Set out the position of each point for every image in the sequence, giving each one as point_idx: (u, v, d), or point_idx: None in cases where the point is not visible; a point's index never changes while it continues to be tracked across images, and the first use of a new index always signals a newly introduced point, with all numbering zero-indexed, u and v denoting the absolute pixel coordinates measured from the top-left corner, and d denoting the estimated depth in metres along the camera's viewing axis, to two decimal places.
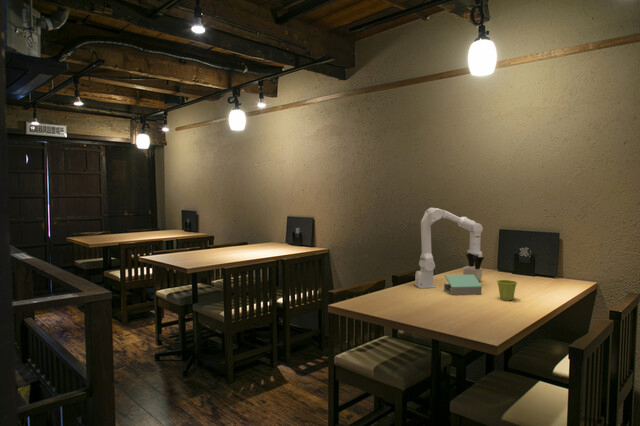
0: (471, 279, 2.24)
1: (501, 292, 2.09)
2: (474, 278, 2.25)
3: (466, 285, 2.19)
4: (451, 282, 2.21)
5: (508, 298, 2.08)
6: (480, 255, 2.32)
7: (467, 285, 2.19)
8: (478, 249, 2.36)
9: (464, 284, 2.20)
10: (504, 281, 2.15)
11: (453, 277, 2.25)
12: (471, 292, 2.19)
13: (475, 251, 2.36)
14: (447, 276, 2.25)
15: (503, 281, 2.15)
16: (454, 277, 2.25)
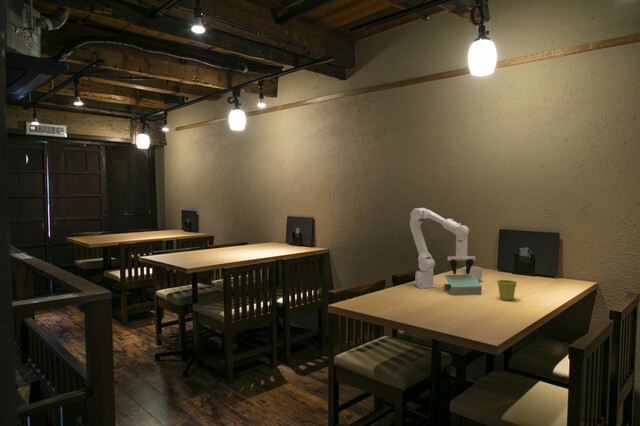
0: (471, 279, 2.24)
1: (501, 292, 2.09)
2: (474, 278, 2.25)
3: (466, 285, 2.19)
4: (451, 282, 2.21)
5: (508, 298, 2.08)
6: (448, 258, 2.24)
7: (467, 285, 2.19)
8: (457, 254, 2.24)
9: (464, 284, 2.20)
10: (504, 281, 2.15)
11: (453, 277, 2.25)
12: (471, 292, 2.19)
13: None
14: (447, 276, 2.25)
15: (503, 281, 2.15)
16: (454, 277, 2.25)
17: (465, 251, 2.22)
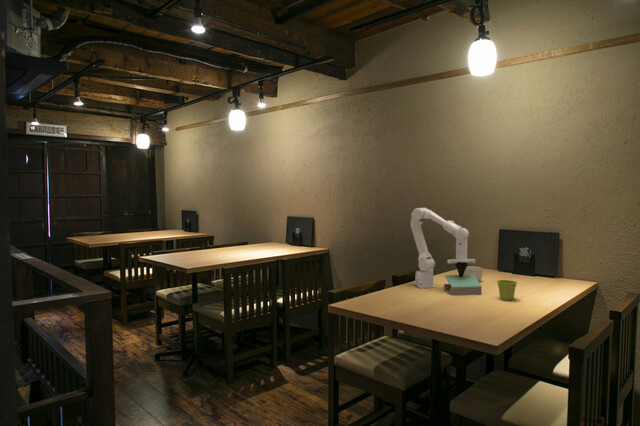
0: (471, 279, 2.24)
1: (501, 292, 2.09)
2: (474, 278, 2.25)
3: (466, 285, 2.19)
4: (451, 282, 2.21)
5: (508, 298, 2.08)
6: (448, 261, 2.24)
7: (467, 285, 2.19)
8: (457, 256, 2.24)
9: (464, 284, 2.20)
10: (504, 281, 2.15)
11: (453, 277, 2.25)
12: (471, 292, 2.19)
13: None
14: (447, 276, 2.25)
15: (503, 281, 2.15)
16: (454, 277, 2.25)
17: (465, 254, 2.22)
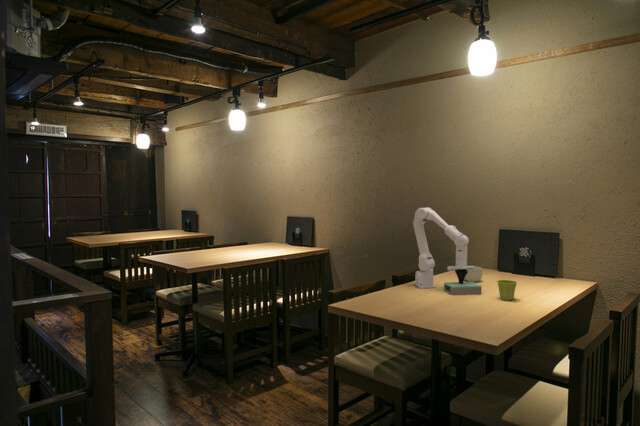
0: (470, 283, 2.25)
1: (501, 292, 2.09)
2: (473, 283, 2.26)
3: (466, 285, 2.20)
4: (450, 285, 2.22)
5: (508, 298, 2.08)
6: (448, 268, 2.25)
7: (467, 285, 2.20)
8: (457, 263, 2.24)
9: (463, 285, 2.20)
10: (504, 281, 2.15)
11: (452, 283, 2.26)
12: (471, 292, 2.19)
13: None
14: (446, 282, 2.27)
15: (503, 281, 2.15)
16: (453, 283, 2.27)
17: (465, 261, 2.22)
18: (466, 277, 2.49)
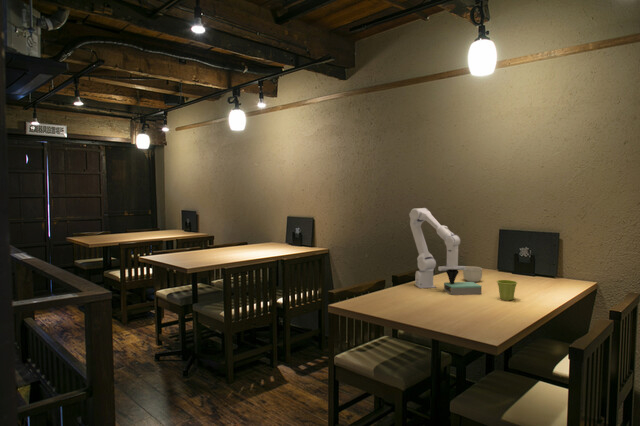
0: (470, 283, 2.25)
1: (501, 292, 2.09)
2: (473, 283, 2.26)
3: (466, 285, 2.20)
4: (450, 285, 2.22)
5: (508, 298, 2.08)
6: (438, 268, 2.24)
7: (467, 285, 2.20)
8: (448, 263, 2.23)
9: (463, 285, 2.20)
10: (504, 281, 2.15)
11: None
12: (471, 292, 2.19)
13: None
14: (446, 282, 2.27)
15: (503, 281, 2.15)
16: None
17: (456, 261, 2.22)
18: (466, 277, 2.49)
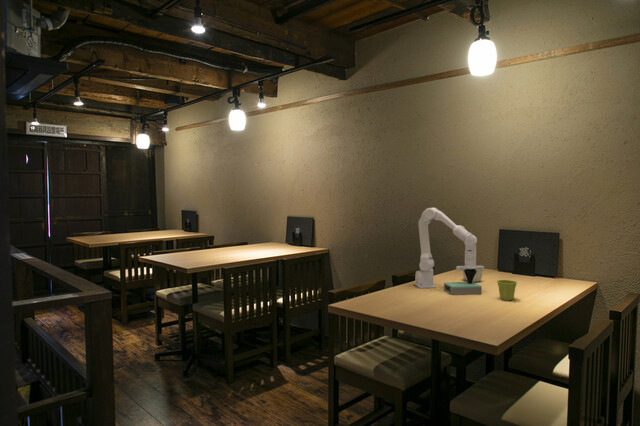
0: None
1: (501, 292, 2.09)
2: (473, 283, 2.26)
3: (466, 285, 2.20)
4: (450, 285, 2.22)
5: (508, 298, 2.08)
6: (457, 268, 2.25)
7: (467, 285, 2.20)
8: (466, 263, 2.24)
9: (463, 285, 2.20)
10: (504, 281, 2.15)
11: (452, 283, 2.26)
12: (471, 292, 2.19)
13: (464, 265, 2.26)
14: (446, 282, 2.27)
15: (503, 281, 2.15)
16: (453, 283, 2.27)
17: (474, 261, 2.23)
18: (466, 277, 2.49)
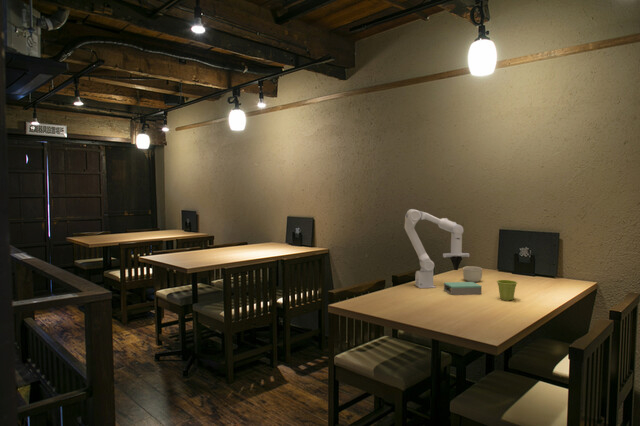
0: (470, 283, 2.25)
1: (501, 292, 2.09)
2: (473, 283, 2.26)
3: (466, 285, 2.20)
4: (450, 285, 2.22)
5: (508, 298, 2.08)
6: (443, 255, 2.35)
7: (467, 285, 2.20)
8: (452, 250, 2.35)
9: (463, 285, 2.20)
10: (504, 281, 2.15)
11: (452, 283, 2.26)
12: (471, 292, 2.19)
13: None
14: (446, 282, 2.27)
15: (503, 281, 2.15)
16: (453, 283, 2.27)
17: (460, 248, 2.33)
18: (466, 277, 2.49)
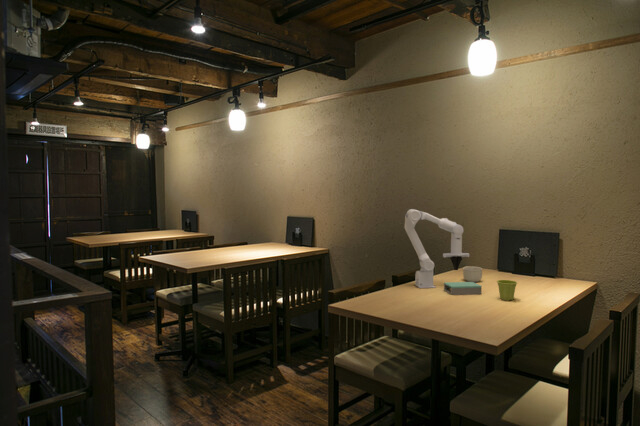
0: (470, 283, 2.25)
1: (501, 292, 2.09)
2: (473, 283, 2.26)
3: (466, 285, 2.20)
4: (450, 285, 2.22)
5: (508, 298, 2.08)
6: (443, 255, 2.35)
7: (467, 285, 2.20)
8: (452, 250, 2.35)
9: (463, 285, 2.20)
10: (504, 281, 2.15)
11: (452, 283, 2.26)
12: (471, 292, 2.19)
13: None
14: (446, 282, 2.27)
15: (503, 281, 2.15)
16: (453, 283, 2.27)
17: (460, 248, 2.33)
18: (466, 277, 2.49)
